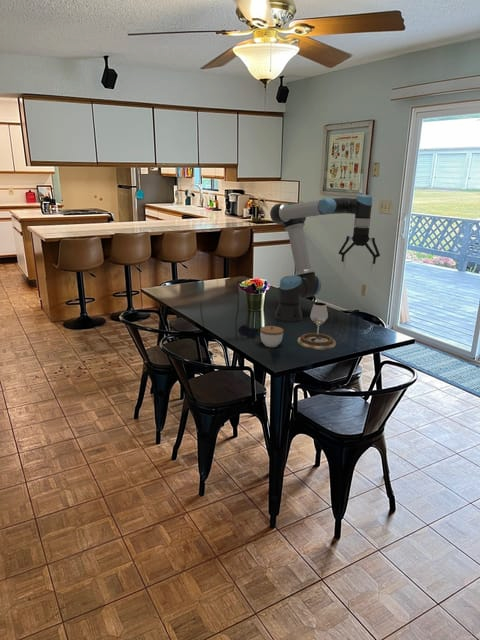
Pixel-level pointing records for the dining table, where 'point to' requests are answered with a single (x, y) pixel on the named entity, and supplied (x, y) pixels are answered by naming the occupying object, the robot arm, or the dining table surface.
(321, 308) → the wineglass
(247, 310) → the dining table surface
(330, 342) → the ring tray
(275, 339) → the lidded jar
